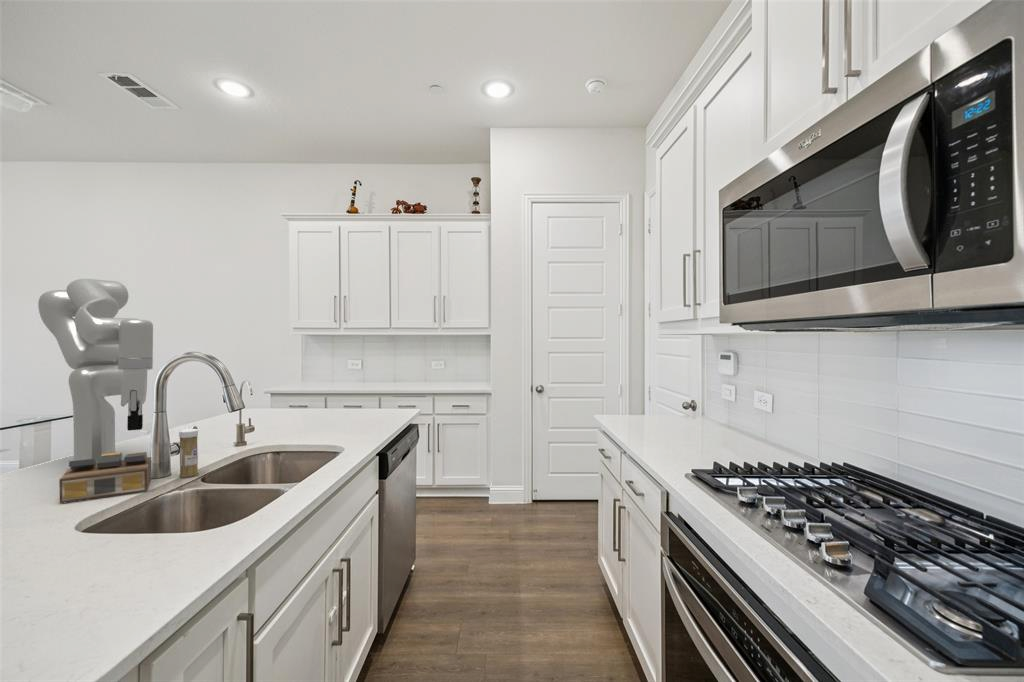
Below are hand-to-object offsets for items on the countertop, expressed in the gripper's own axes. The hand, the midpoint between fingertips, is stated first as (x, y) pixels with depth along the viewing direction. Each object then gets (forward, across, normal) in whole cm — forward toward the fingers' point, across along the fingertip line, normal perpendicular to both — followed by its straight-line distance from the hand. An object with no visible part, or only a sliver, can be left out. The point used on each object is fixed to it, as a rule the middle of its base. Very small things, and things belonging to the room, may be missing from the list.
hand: (135, 429), depth 133 cm
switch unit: (+15, +5, -5) cm, 16 cm away
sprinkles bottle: (+15, +1, +13) cm, 20 cm away
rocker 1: (+8, +3, -10) cm, 13 cm away
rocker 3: (+8, +3, +1) cm, 8 cm away
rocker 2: (+8, +3, -5) cm, 10 cm away
